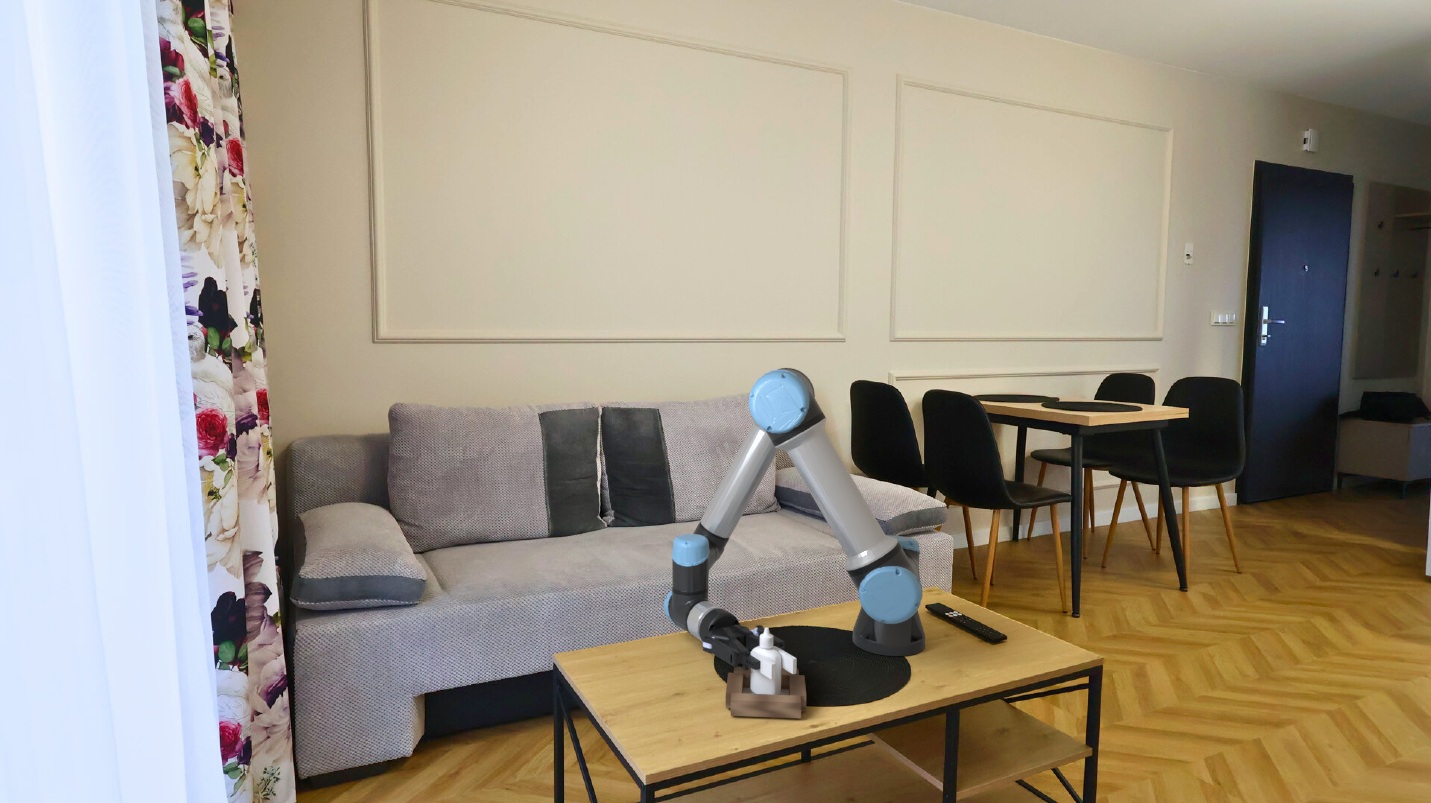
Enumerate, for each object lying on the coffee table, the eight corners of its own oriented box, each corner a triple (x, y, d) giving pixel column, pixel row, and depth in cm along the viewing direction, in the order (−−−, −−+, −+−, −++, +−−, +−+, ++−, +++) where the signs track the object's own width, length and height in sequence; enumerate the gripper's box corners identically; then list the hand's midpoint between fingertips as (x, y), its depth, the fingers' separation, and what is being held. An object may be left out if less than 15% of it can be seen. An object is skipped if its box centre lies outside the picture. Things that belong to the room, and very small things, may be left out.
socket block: (803, 685, 154) (803, 669, 154) (806, 721, 140) (807, 702, 140) (728, 683, 155) (728, 666, 155) (724, 717, 141) (724, 699, 141)
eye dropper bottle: (769, 684, 151) (771, 621, 150) (783, 697, 146) (784, 631, 145) (748, 688, 149) (749, 624, 148) (760, 701, 144) (762, 635, 143)
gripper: (749, 636, 167) (822, 679, 147) (676, 652, 158) (742, 700, 138) (750, 600, 166) (823, 638, 146) (676, 614, 158) (743, 657, 138)
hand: (783, 668), depth 142 cm, fingers closed on eye dropper bottle, 4 cm apart
